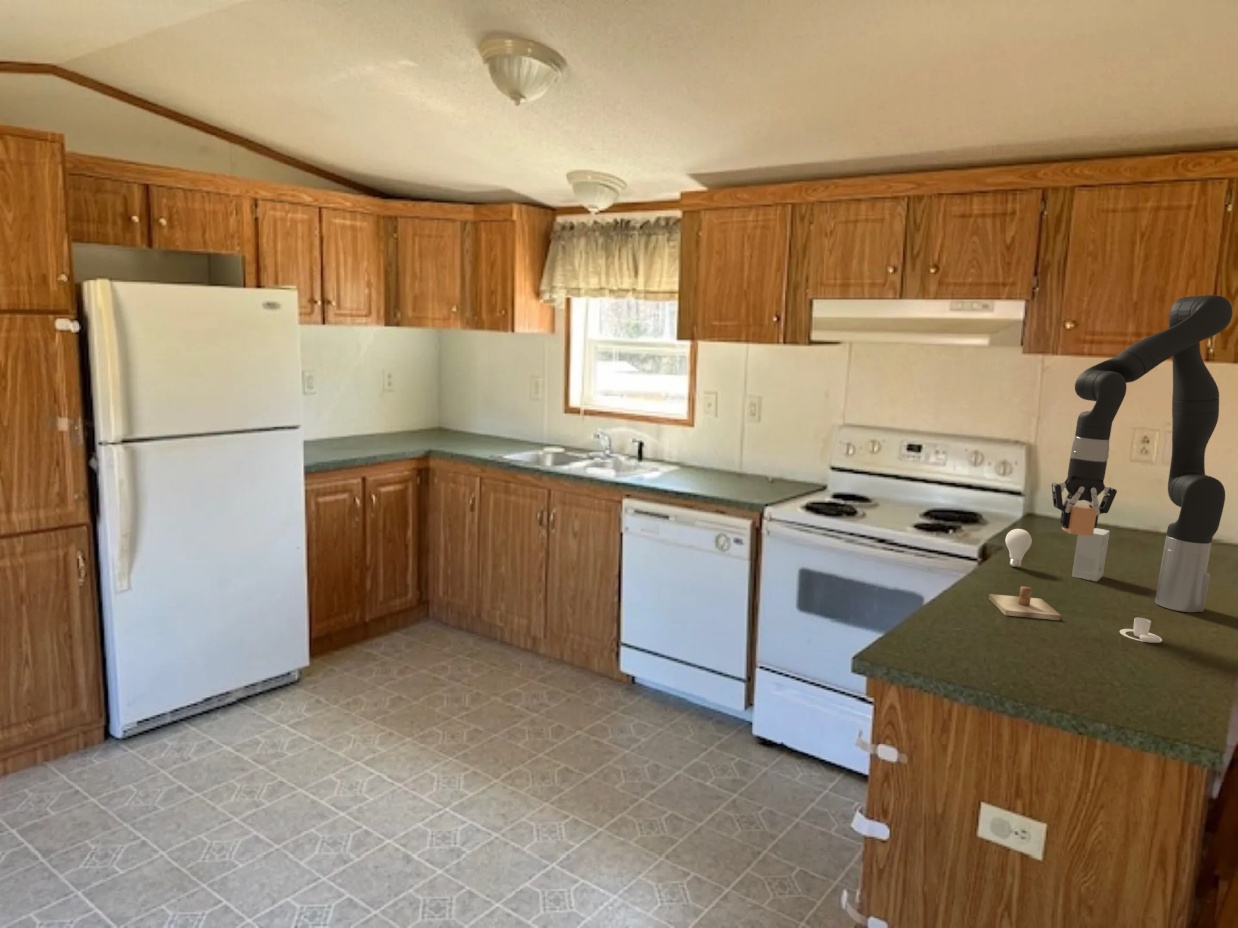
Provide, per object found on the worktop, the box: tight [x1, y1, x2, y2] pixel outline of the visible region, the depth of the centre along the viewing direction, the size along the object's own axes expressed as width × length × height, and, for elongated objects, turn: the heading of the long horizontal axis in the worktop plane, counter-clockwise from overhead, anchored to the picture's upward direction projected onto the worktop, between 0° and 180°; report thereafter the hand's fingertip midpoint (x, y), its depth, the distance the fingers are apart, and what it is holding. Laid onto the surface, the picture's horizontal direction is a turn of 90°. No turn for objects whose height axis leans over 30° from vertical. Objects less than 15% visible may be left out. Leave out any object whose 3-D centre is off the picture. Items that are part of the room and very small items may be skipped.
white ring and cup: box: [1119, 617, 1163, 644], centre depth 182 cm, size 9×8×4 cm
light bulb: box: [1005, 528, 1033, 568], centre depth 233 cm, size 7×7×11 cm
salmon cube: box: [1061, 504, 1097, 536], centre depth 195 cm, size 5×5×6 cm
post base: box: [988, 585, 1062, 621], centre depth 196 cm, size 12×12×5 cm
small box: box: [1071, 527, 1111, 582], centre depth 228 cm, size 8×6×13 cm
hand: (1077, 528), depth 196 cm, fingers closed on salmon cube, 5 cm apart
